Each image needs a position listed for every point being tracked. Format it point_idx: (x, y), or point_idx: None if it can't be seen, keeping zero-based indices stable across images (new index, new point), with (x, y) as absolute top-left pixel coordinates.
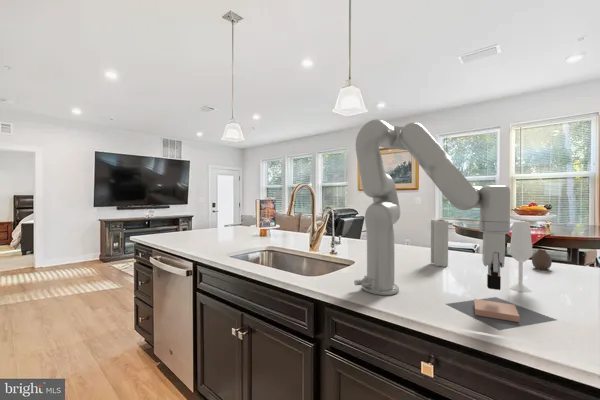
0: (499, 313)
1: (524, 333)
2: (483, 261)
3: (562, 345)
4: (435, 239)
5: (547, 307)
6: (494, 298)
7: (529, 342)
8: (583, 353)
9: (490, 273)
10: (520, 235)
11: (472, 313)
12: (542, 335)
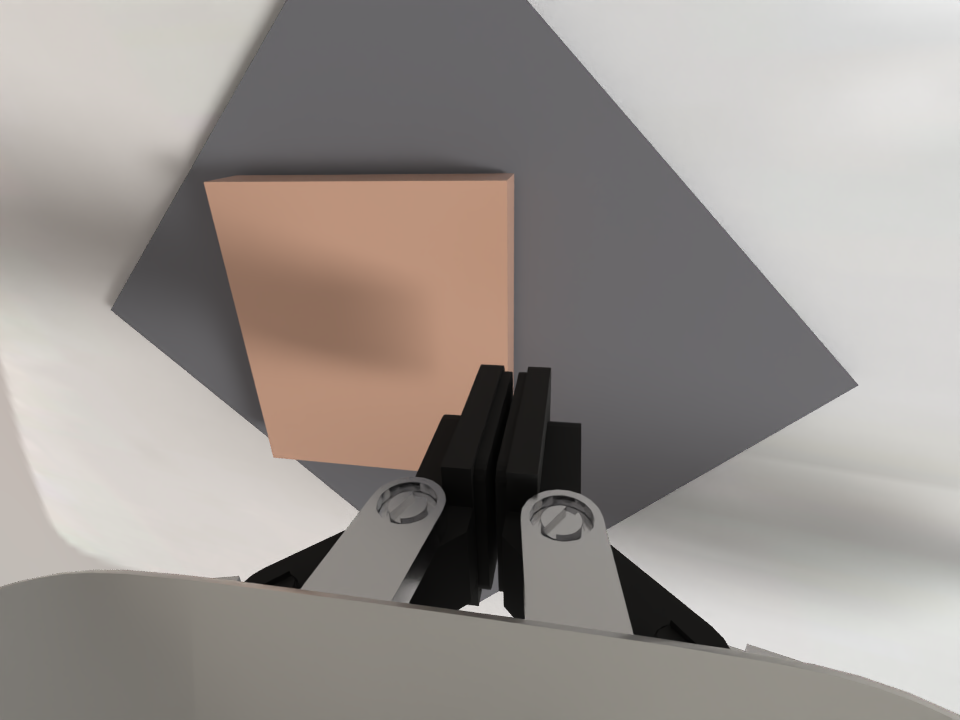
0: (250, 352)
1: (202, 421)
2: (154, 659)
3: (184, 524)
4: None
5: (729, 631)
6: (806, 366)
7: (110, 418)
8: (165, 561)
9: (362, 525)
10: None
11: (277, 154)
12: (238, 487)
